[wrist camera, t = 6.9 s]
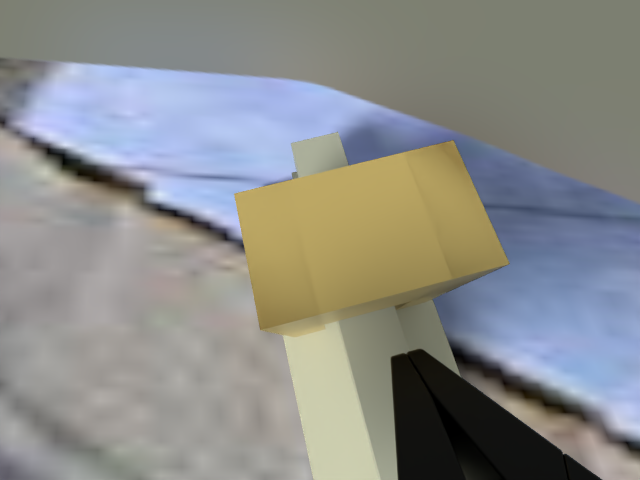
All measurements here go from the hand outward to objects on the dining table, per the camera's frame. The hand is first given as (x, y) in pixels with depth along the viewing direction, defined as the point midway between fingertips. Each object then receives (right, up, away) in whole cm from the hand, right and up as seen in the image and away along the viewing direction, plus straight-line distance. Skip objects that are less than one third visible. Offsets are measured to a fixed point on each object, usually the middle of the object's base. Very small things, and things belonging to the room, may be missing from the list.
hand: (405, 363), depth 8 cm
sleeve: (-1, +1, +9) cm, 9 cm away
